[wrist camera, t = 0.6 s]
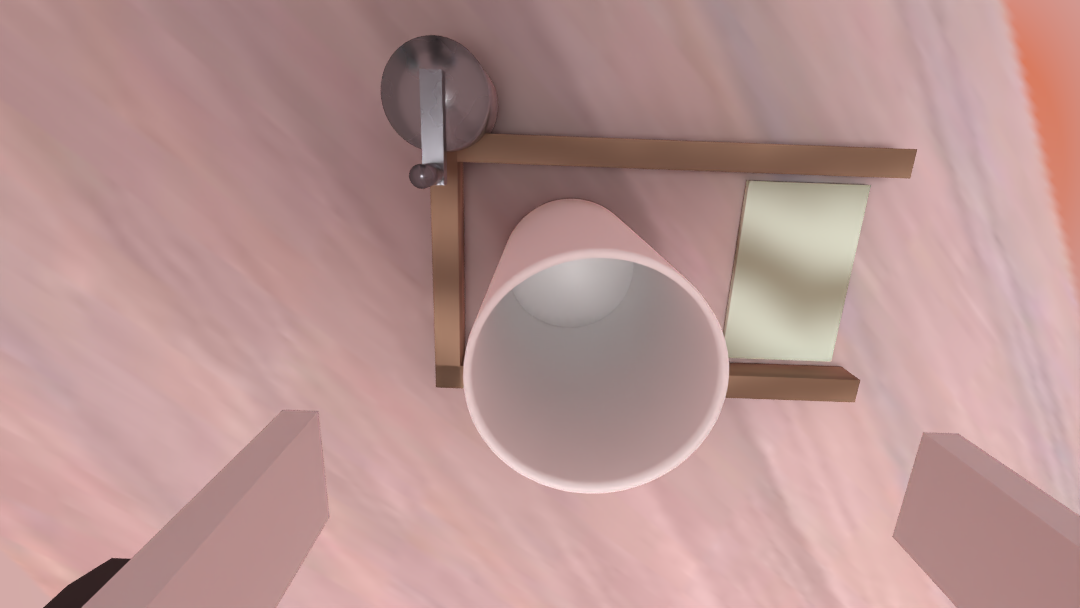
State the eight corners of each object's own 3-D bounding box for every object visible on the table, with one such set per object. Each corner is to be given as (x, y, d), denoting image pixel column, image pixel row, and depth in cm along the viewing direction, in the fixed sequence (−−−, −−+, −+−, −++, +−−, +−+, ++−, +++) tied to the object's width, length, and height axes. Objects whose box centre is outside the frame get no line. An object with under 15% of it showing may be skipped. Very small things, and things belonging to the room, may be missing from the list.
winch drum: (407, 54, 27) (351, 14, 19) (498, 57, 27) (479, 19, 19) (411, 176, 29) (362, 186, 21) (497, 180, 29) (480, 190, 21)
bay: (436, 132, 28) (428, 131, 26) (892, 149, 28) (917, 149, 26) (442, 373, 33) (436, 387, 31) (836, 387, 33) (854, 402, 31)
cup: (664, 261, 30) (787, 373, 15) (573, 353, 32) (599, 537, 17) (566, 168, 29) (590, 187, 13) (475, 271, 31) (407, 391, 15)
